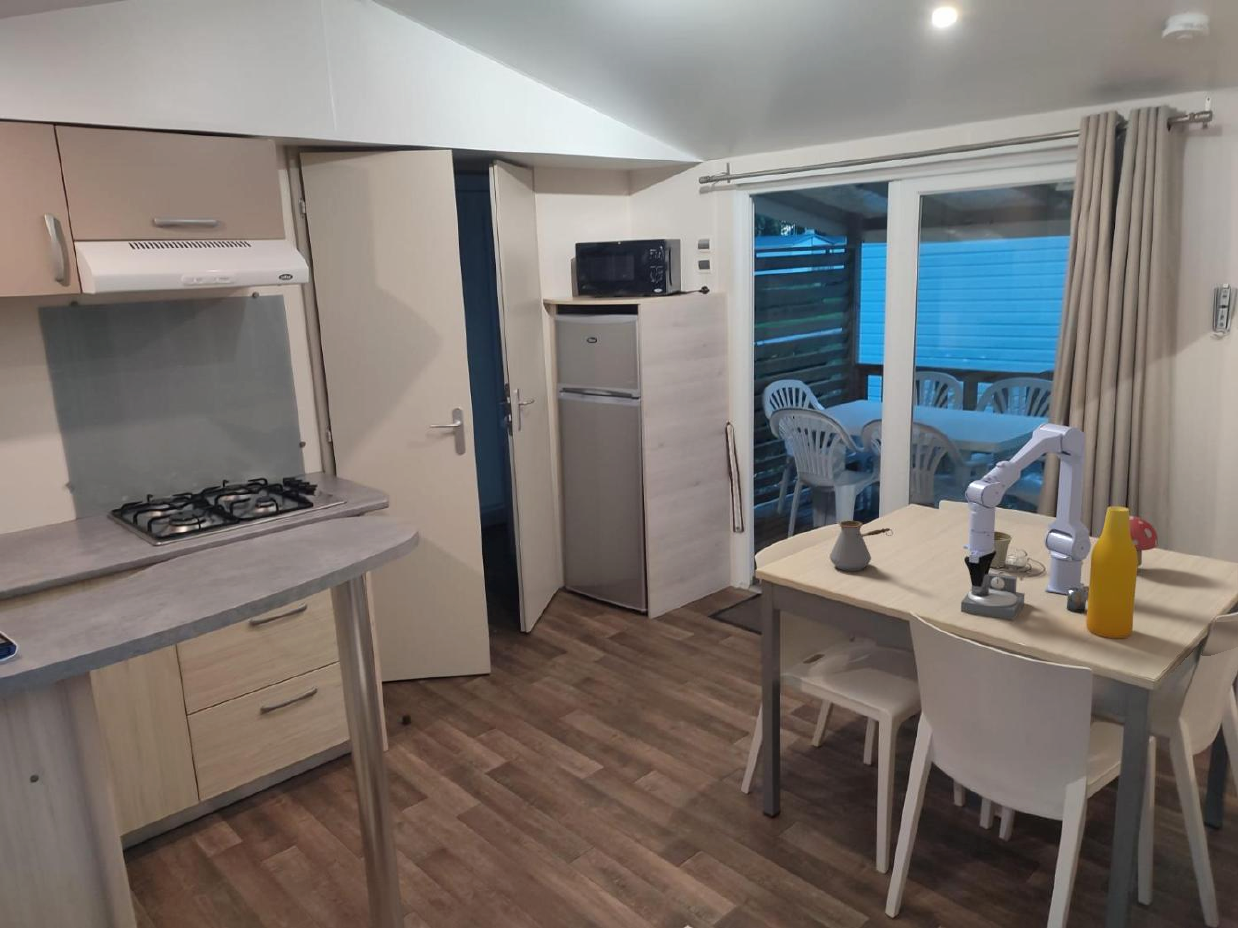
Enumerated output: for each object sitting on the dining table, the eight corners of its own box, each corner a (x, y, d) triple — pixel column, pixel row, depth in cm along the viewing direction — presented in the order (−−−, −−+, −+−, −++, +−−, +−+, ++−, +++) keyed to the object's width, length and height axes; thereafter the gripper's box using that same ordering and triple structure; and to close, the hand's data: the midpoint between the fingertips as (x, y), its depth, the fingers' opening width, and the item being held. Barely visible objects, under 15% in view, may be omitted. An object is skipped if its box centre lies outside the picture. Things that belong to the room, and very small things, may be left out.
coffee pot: (821, 564, 253) (821, 514, 250) (852, 557, 258) (852, 508, 255) (872, 586, 234) (874, 532, 231) (905, 578, 239) (906, 525, 236)
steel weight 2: (1068, 605, 216) (1069, 586, 215) (1086, 608, 213) (1087, 589, 212) (1065, 611, 212) (1066, 591, 211) (1084, 613, 210) (1085, 594, 209)
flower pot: (1001, 572, 241) (1002, 542, 239) (968, 565, 248) (969, 536, 246) (1016, 564, 247) (1018, 535, 245) (984, 557, 254) (985, 528, 252)
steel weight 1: (972, 589, 220) (973, 571, 218) (989, 591, 218) (990, 572, 217) (970, 595, 216) (971, 576, 215) (987, 597, 214) (988, 578, 213)
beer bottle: (1119, 642, 194) (1130, 516, 188) (1077, 630, 201) (1086, 508, 195) (1139, 631, 199) (1150, 508, 193) (1097, 620, 206) (1107, 501, 200)
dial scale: (973, 594, 225) (974, 570, 224) (1024, 602, 219) (1025, 578, 217) (960, 611, 215) (962, 586, 214) (1013, 620, 208) (1014, 594, 207)
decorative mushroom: (1096, 560, 247) (1100, 508, 244) (1151, 564, 242) (1155, 511, 239) (1101, 575, 235) (1105, 521, 232) (1159, 579, 230) (1164, 525, 227)
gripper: (971, 520, 222) (969, 571, 224) (957, 535, 210) (955, 588, 213) (1001, 523, 218) (998, 575, 221) (988, 539, 206) (985, 593, 209)
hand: (979, 582), depth 216 cm, fingers open, 5 cm apart
